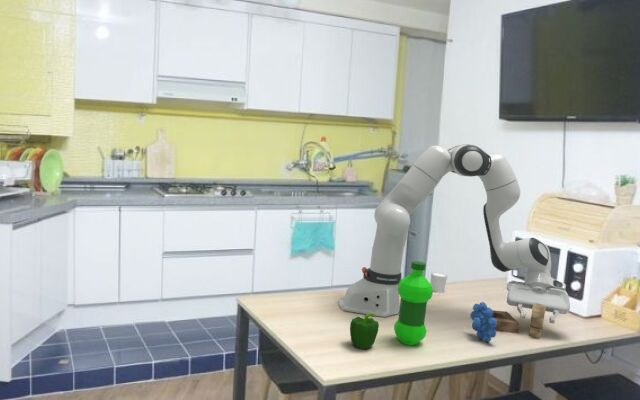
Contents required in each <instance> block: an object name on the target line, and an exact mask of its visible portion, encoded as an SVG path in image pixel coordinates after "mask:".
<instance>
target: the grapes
mask: <svg viewBox="0 0 640 400" xmlns="http://www.w3.org/2000/svg"><path fill="white" fill-rule="evenodd" d="M472 309H473V310H472V311H471V312H470V319H471V320H472V323H471V328H472V330H474V331H475V332H476V337H477V338H478V339H479V340H484V342H486V343H489V342H491V341H492V339H493V338H495V337H496V336H497V331H496V330H495V329H494V328H495V327H496V326H497V321H496V320H495V318H493V309H492V308H490V307H488V305H487V304H486V302H484V301H481V302H479V303H474V304H473V307H472Z"/></svg>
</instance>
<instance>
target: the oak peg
mask: <svg viewBox="0 0 640 400" xmlns="http://www.w3.org/2000/svg"><path fill="white" fill-rule="evenodd" d="M545 309H546V306H545V305H542V304H537V303H534V304H533V308H532V309H531V317H530V322H529V335H528V336H529V337H530V338H533V339H540V338H541V335H542V334H541V332H542V330H543V327H544V320H545V315H546V311H545Z"/></svg>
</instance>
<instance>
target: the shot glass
mask: <svg viewBox="0 0 640 400" xmlns="http://www.w3.org/2000/svg"><path fill="white" fill-rule="evenodd" d="M447 280H448V274H444V273H441V272H431V273H430V284H431V285H432V288H433V291H434V292H433V293H437V292H443V293H444V292H445V288H446V284H447Z"/></svg>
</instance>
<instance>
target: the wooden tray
mask: <svg viewBox="0 0 640 400" xmlns="http://www.w3.org/2000/svg"><path fill="white" fill-rule="evenodd" d="M492 310H493V309H492ZM493 318H495V320H496V321H497V326H496V327H495V328H494V329H495V330H496V332H505V333H513V334H514V333H516V334H517V333H519V327H520V322H519V321H518V320H517V319H516V318H515V317H513V315H511V313H509V312H508V311H506V310H505V311H504V310H493Z"/></svg>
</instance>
